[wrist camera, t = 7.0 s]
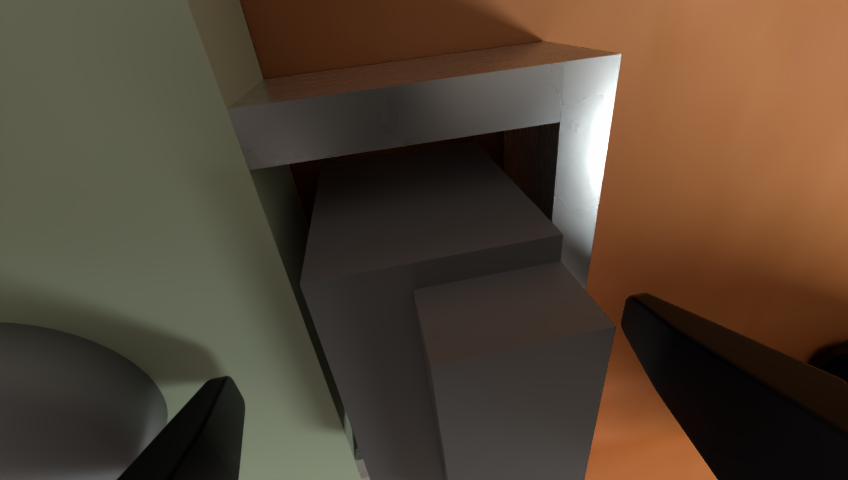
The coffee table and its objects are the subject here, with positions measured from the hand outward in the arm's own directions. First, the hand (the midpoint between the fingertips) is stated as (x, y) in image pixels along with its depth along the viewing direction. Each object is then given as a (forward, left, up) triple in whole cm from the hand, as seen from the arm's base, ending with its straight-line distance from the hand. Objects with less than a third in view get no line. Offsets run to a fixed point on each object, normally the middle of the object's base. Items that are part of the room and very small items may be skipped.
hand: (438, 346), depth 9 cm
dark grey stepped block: (0, 0, -4) cm, 4 cm away
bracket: (0, 0, -4) cm, 4 cm away
